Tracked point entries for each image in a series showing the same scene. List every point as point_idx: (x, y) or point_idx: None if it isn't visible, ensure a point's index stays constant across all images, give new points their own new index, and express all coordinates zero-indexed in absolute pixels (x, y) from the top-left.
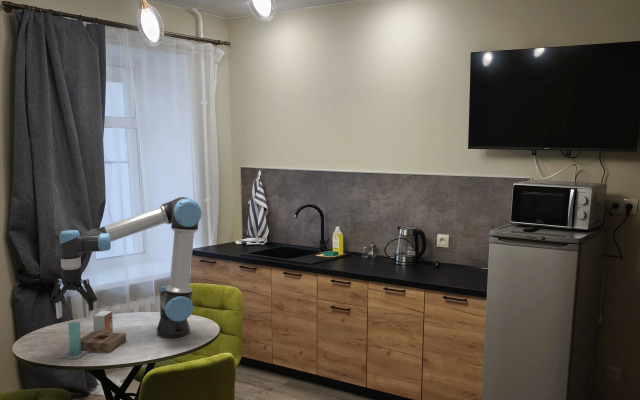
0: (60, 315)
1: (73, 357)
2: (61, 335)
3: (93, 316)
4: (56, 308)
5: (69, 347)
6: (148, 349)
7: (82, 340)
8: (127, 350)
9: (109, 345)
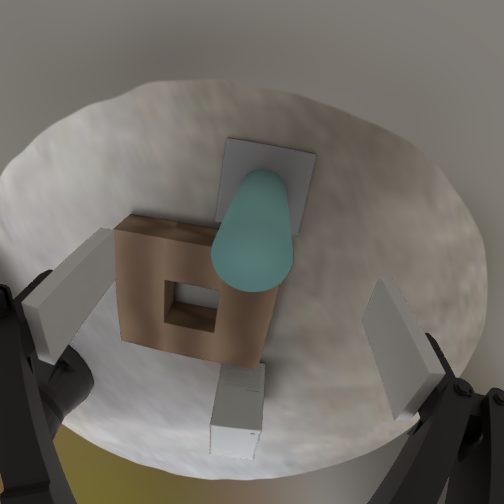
0: (373, 312)
1: (250, 144)
2: (381, 379)
3: (260, 427)
4: (420, 332)
5: (282, 187)
6: (35, 246)
7: None
8: (85, 239)
9: (117, 225)
